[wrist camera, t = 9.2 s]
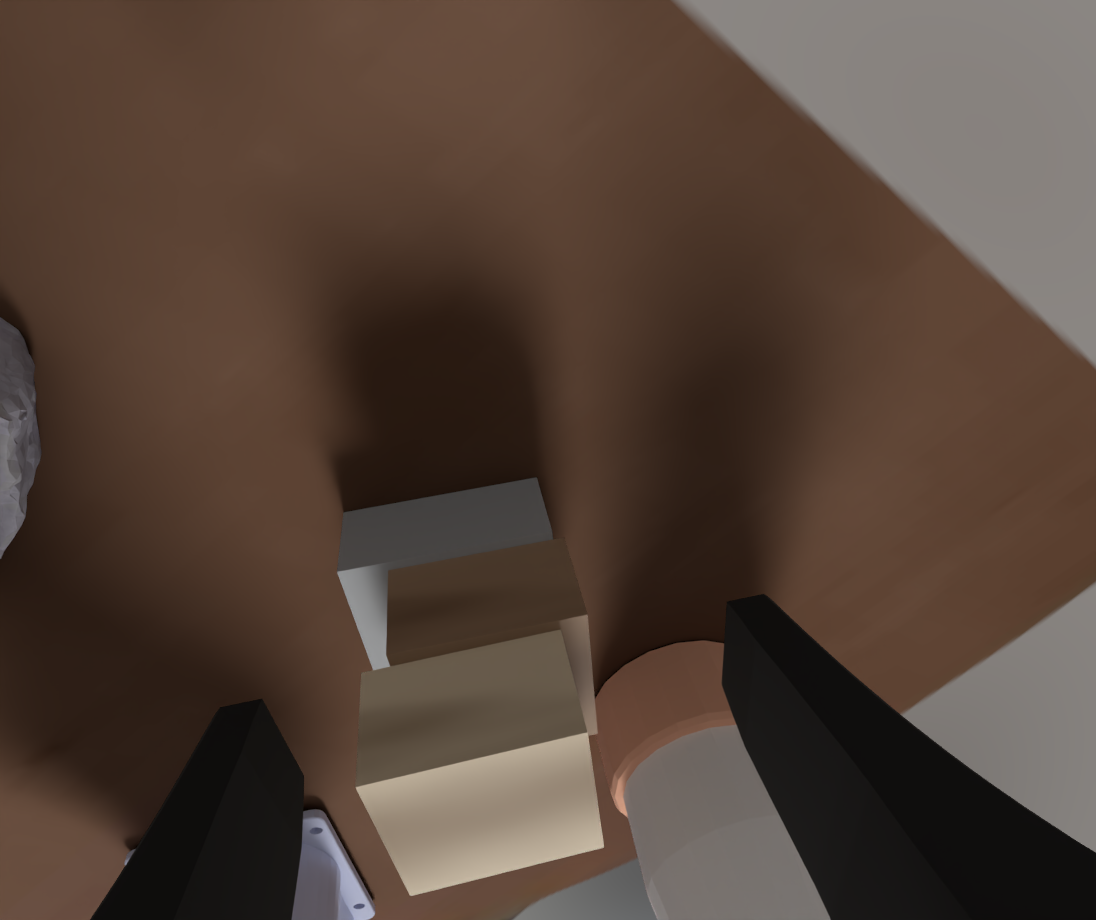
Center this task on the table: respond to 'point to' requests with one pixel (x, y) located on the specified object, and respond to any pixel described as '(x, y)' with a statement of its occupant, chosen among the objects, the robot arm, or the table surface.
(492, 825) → the oak block
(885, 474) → the table surface
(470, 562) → the walnut block
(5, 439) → the stone block
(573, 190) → the table surface
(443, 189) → the table surface
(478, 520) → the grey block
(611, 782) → the pepper shaker
